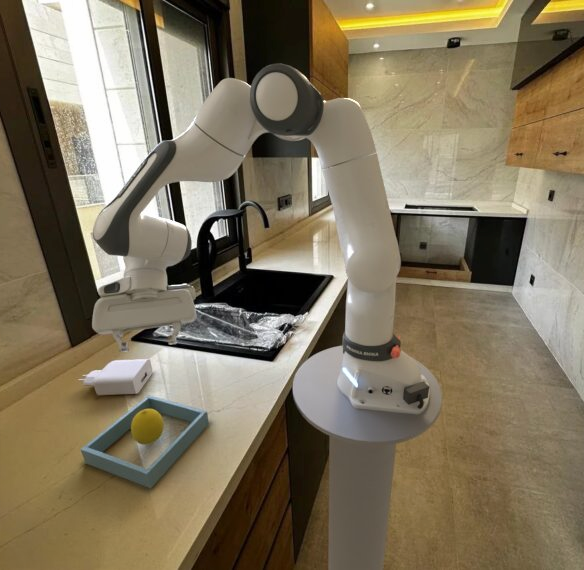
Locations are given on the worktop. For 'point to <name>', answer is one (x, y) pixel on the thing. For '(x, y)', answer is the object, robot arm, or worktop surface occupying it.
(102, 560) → the worktop surface
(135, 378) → the charger
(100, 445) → the blue bin
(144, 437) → the lemon
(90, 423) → the worktop surface
